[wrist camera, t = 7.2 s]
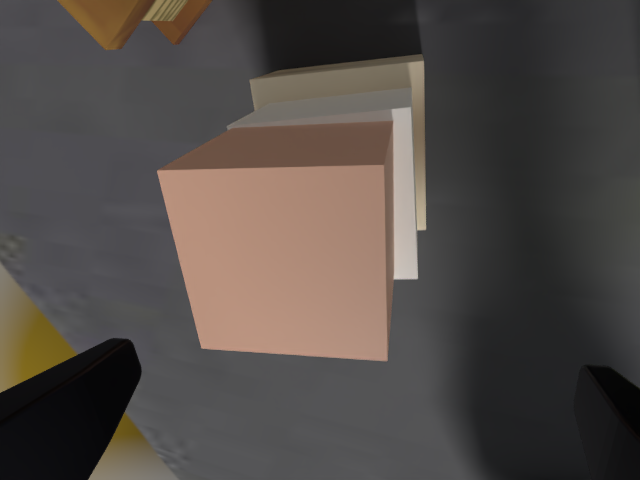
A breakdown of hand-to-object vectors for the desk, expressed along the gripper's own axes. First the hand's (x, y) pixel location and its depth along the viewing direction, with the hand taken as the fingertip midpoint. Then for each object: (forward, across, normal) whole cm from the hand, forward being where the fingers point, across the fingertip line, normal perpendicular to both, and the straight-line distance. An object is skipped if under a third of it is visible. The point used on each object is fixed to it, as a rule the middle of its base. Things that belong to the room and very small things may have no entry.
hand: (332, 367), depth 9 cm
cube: (+5, +1, -2) cm, 5 cm away
